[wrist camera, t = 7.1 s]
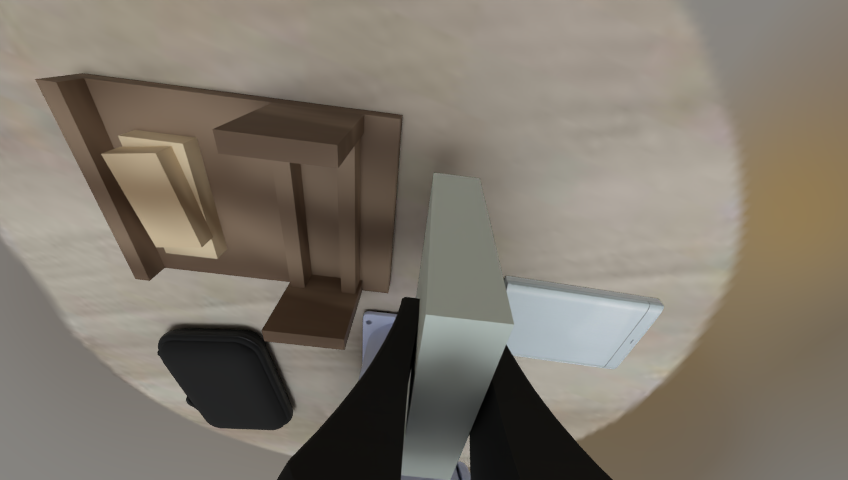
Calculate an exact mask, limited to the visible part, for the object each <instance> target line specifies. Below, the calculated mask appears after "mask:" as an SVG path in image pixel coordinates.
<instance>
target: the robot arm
mask: <svg viewBox="0 0 848 480" xmlns="http://www.w3.org/2000/svg"><path fill="white" fill-rule="evenodd" d="M419 305H420V299H418V298H410V297H404V298H402V301H401V305H400V308H399V311H398V313H397V314H390V313H381V312H373V311H367V312H365V313H364V316H363V355H362V368H361V372H360V376H359V381H358V383H357V384H356V385H355V387H354V388H353V389H352V390H351V392H350V393H349V394H348V396H347V397H346V398H345V399H344V401H343V402H342V403H341V404H340V406H339V407H338V408H337V409H336V410H335V411H334V413H333V414H332V415H331V416H330V417H329V418H328V419H327V421H326V422H325V423H324V424H323V425H322V426H321V427H320V429H319V430H318V431H317V432H316V433H315V434H314V435H313V436H312V437H311V438H310V439H309V440H308V441H307V442H306V443H305V444H304V445H303V446H302V447H301V448H300V449H299V450H298V451H297V452H296V453H295V454H294V455H293V456H292V457H291V458H290V460H289V461H288V463H287V464H286V466H285V467H284V469H283V471H282V472H281V474H280V475H279V477H278V479H277V480H443V479H433V478H423V477H413V476H403V475H401V471H402V457H403V443H404V430H405V417H406V404H407V392H408V383H409V378H410V372H411V367H412V360H413V354H414V347H415V341H416V334H417V328H418V321H419ZM368 320H369V321H368ZM469 434H470V472H469V470H468V468H467V466H466V465H465V464H464V463H463V462H459V461H458V463H457V465H456V467H455V470H454V472H453V475H452V477H451V480H612V479H611V478H610V477H609V476H608V475H607V474H606V473H605V472H604V471H603V470H602V469H601V468H600V467H599V466H598V465H597V464H596V463H595V462H594V461H593V460H592V459H591V457H589V455H588V454H587V453H586V452H585V451H584V450H583V449H582V448H581V447H580V446H579V444H578V443H577V442H576V441H575V440H574V439H573V437H572V436H571V435H570V434H569V433H568V432H567V430H566V429H565V428H564V427H563V426H562V425H561V423H560V422H559V421H558V420H557V419H556V417H555V416H554V415H553V414H552V412H551V411H550V410H549V408H548V407H547V406H546V405H545V403H544V402H543V401H542V399H541V398H540V396H539V395H538V394H537V392H536V391H535V389H534V388H533V387H532V385H531V384H530V382H529V381H528V379H527V378H526V376H525V375H524V373H523V371H522V370H521V368H520V367H519V365H518V363H517V362H516V360H515V358H514V357H513V355H512V353H511V351H510V350H509V348H508V346H507V344H506V346H505V348H504V351H503V353H502V356H501V358H500V361H499V363H498V365H497V368H496V370H495V373H494V375H493V378H492V380H491V382H490V385H489V387H488V390H487V392H486V395H485V397H484V399H483V402H482V404H481V407H480V409H479V412H478V414H477V416H476V419H475V421H474V424H473V426H472V429H471V431H470V433H469Z"/></svg>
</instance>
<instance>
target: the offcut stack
mask: <svg viewBox="0 0 848 480" xmlns="http://www.w3.org/2000/svg"><path fill="white" fill-rule="evenodd" d="M118 137H119V139H120V142H121V144H122V147H118V148H115V149H113V150H110V151H107V152H104V153H102V154H101V155H102V156H103V158H104V160H105V162H106V163H107V165H108V167H109V168H110V170H111V172H112V173H113V175H114V177H115V179H116V180H117V182H118V184H119V185H120V187H121V189H122V190H123V192H124V194H125V196H126V197H127V199H128V201H129V202H130V204H131V206H132V207H133V209H134V211H135V212H136V214H137V216H138V218H139V219H140V221H141V223H142V224H143V226H144V228H145V229H146V231H147V233H148V235H149V236H150V238H151V240H152V241H153V243H154V245H155V246H156V247H164V249H165V252H166V253H170V254H179V255H187V256H196V257H204V258H213V259H218V258H219V257H220V256H221V255H222V254H223V253H224V252H225V251H226V250H227V246H226V242H225V239H224V235H223V232H222V228H221V224H220V221H219V217H218V214H217V210H216V206H215V203H214V199H213V195H212V192H211V188H210V185H209V181H208V177H207V174H206V170H205V166H204V163H203V159H202V156H201V152H200V148H199V145H198V141H197V138H196V137H188V136H180V135H172V134H164V133H156V132H148V131H141V130H133V131H130V132H127V133H124V134H121V135H118Z"/></svg>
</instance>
